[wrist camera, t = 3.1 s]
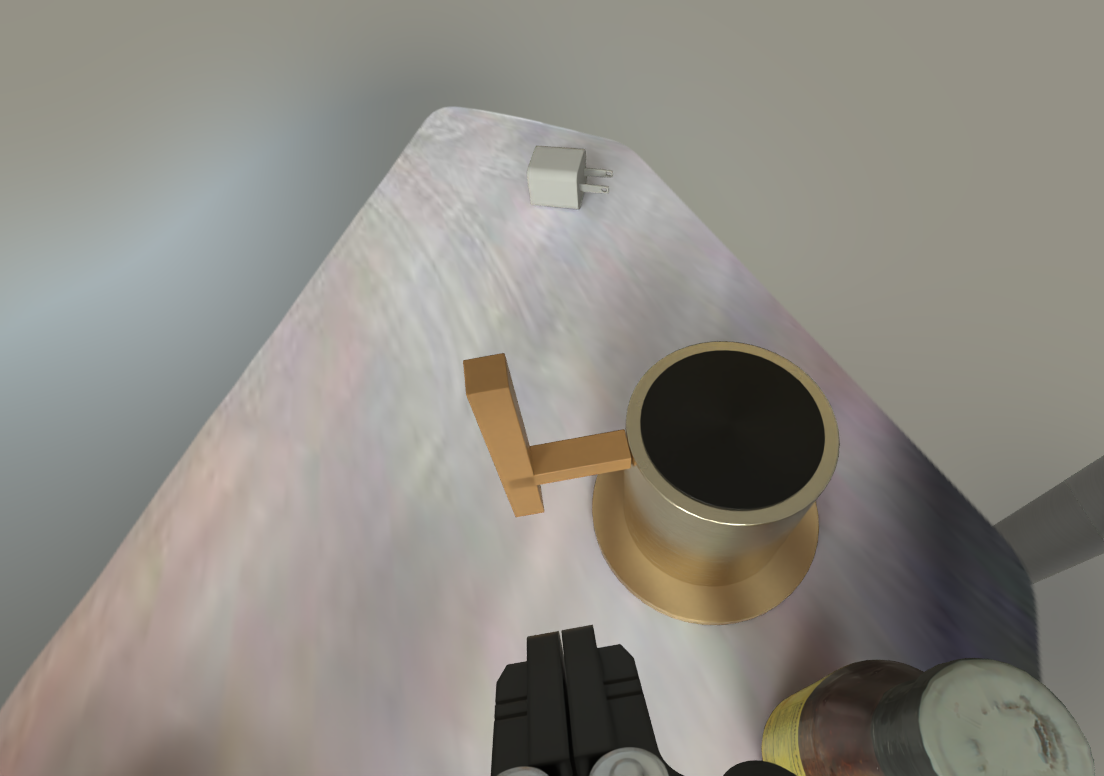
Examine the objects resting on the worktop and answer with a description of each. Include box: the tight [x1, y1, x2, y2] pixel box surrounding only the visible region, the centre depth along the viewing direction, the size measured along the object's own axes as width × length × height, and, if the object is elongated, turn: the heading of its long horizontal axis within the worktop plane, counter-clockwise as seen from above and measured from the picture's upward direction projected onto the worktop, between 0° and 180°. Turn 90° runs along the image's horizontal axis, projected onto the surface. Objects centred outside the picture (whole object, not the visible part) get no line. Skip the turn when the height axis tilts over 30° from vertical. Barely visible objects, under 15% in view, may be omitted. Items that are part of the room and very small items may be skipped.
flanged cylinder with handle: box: [463, 341, 840, 587], centre depth 31 cm, size 16×10×19 cm, turn 99°
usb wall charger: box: [527, 146, 613, 209], centre depth 54 cm, size 4×7×4 cm, turn 77°
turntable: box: [592, 470, 819, 625], centre depth 39 cm, size 14×14×1 cm
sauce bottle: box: [762, 658, 1095, 776], centre depth 24 cm, size 6×6×20 cm
